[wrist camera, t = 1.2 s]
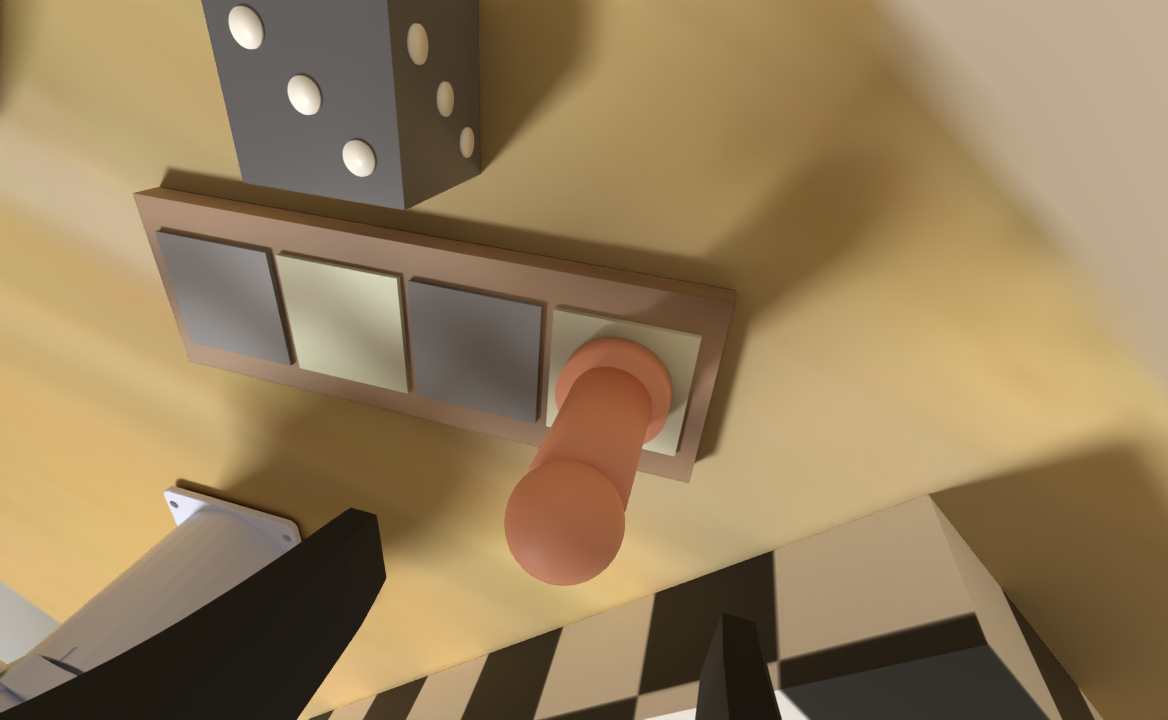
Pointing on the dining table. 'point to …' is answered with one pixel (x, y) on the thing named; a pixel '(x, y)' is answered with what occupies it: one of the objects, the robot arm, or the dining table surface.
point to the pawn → (588, 461)
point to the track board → (422, 318)
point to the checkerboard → (782, 642)
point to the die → (351, 95)
